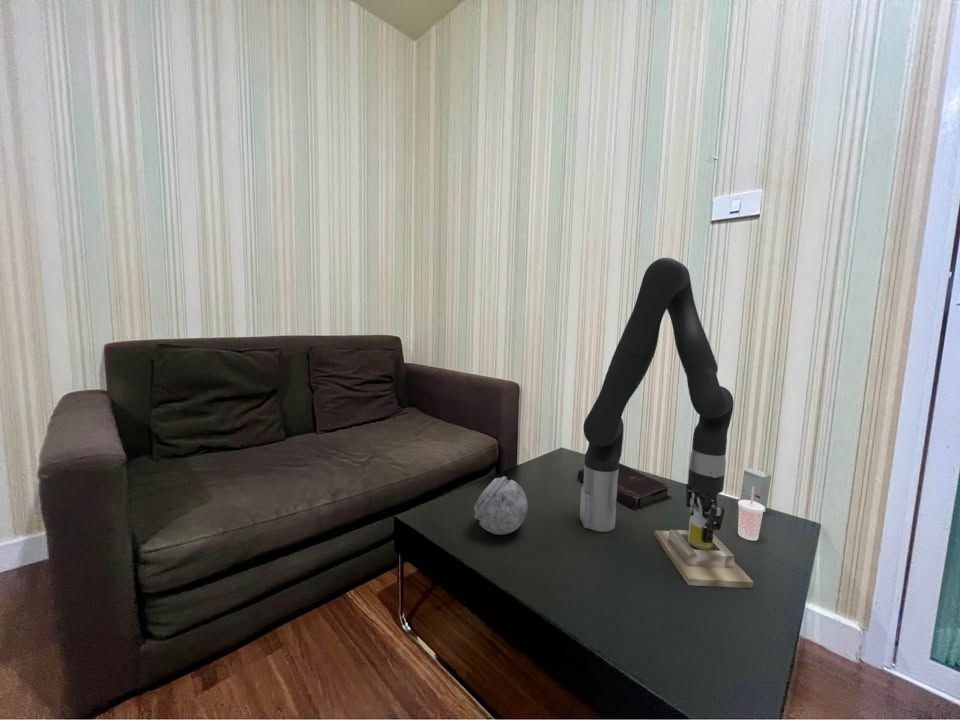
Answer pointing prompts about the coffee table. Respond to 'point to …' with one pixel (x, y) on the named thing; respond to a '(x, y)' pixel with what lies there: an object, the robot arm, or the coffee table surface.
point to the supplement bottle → (697, 532)
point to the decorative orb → (501, 506)
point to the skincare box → (756, 486)
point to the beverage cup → (750, 518)
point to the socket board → (704, 571)
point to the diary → (636, 488)
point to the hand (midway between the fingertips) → (700, 534)
